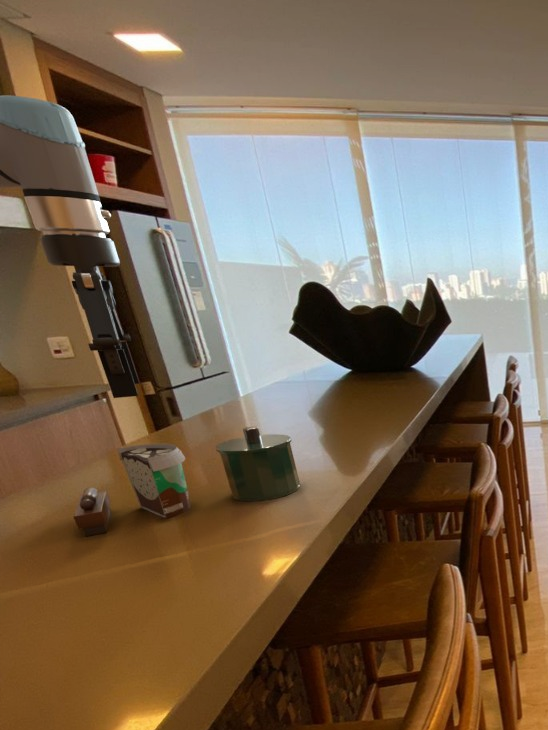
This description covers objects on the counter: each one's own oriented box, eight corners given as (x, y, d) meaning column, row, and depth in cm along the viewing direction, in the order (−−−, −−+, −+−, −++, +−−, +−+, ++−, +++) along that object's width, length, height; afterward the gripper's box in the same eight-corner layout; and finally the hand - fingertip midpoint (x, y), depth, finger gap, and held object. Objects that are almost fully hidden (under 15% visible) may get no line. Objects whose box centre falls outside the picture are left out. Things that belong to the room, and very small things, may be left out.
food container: (214, 507, 93) (196, 449, 89) (170, 520, 88) (149, 458, 84) (179, 494, 99) (161, 439, 95) (137, 505, 94) (115, 447, 90)
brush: (88, 514, 91) (77, 485, 89) (113, 509, 92) (102, 481, 91) (82, 538, 82) (69, 506, 80) (109, 532, 84) (97, 502, 82)
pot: (230, 490, 101) (216, 444, 98) (294, 478, 107) (283, 434, 104) (236, 505, 94) (221, 456, 90) (305, 492, 100) (293, 445, 96)
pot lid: (214, 447, 98) (208, 427, 97) (286, 437, 104) (281, 417, 103) (220, 461, 90) (213, 439, 89) (297, 449, 97) (292, 428, 95)
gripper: (107, 231, 71) (160, 399, 79) (115, 241, 89) (158, 377, 97) (22, 227, 67) (87, 406, 75) (49, 238, 85) (99, 381, 93)
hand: (127, 390), depth 86 cm, fingers open, 13 cm apart
